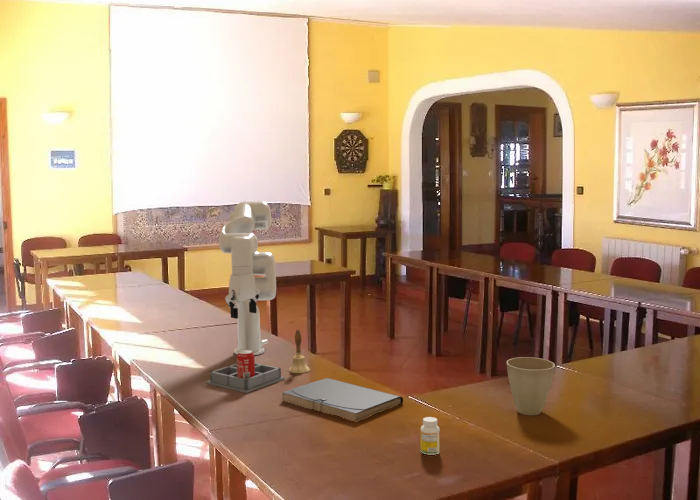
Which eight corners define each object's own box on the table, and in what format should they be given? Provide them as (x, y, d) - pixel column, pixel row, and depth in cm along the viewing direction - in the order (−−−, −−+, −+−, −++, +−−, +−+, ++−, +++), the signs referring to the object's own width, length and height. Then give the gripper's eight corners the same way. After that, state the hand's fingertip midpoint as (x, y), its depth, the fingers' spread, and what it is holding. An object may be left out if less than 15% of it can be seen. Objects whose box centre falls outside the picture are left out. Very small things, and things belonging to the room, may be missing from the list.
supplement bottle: (432, 458, 210) (432, 424, 208) (416, 453, 213) (416, 419, 212) (443, 452, 214) (443, 418, 213) (427, 447, 217) (427, 414, 216)
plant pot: (527, 422, 236) (527, 372, 234) (496, 408, 249) (496, 360, 247) (564, 414, 242) (565, 365, 240) (532, 401, 256) (533, 354, 253)
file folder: (281, 391, 259) (330, 376, 277) (281, 403, 259) (330, 387, 277) (355, 412, 237) (403, 394, 255) (355, 425, 237) (403, 406, 255)
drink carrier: (245, 370, 296) (245, 359, 296) (284, 379, 285) (284, 367, 284) (206, 383, 280) (206, 372, 280) (246, 393, 269) (246, 381, 268)
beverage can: (256, 381, 279) (255, 349, 278) (253, 386, 273) (252, 353, 272) (239, 381, 280) (238, 349, 279) (235, 386, 274) (234, 353, 272)
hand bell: (284, 372, 294) (283, 331, 292) (294, 366, 301) (293, 326, 299) (304, 374, 291) (303, 333, 289) (313, 368, 298) (312, 328, 296)
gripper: (251, 265, 291) (252, 309, 294) (217, 272, 277) (219, 318, 280) (265, 267, 286) (267, 312, 289) (232, 274, 273) (234, 321, 276)
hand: (243, 315), depth 285 cm, fingers open, 9 cm apart
